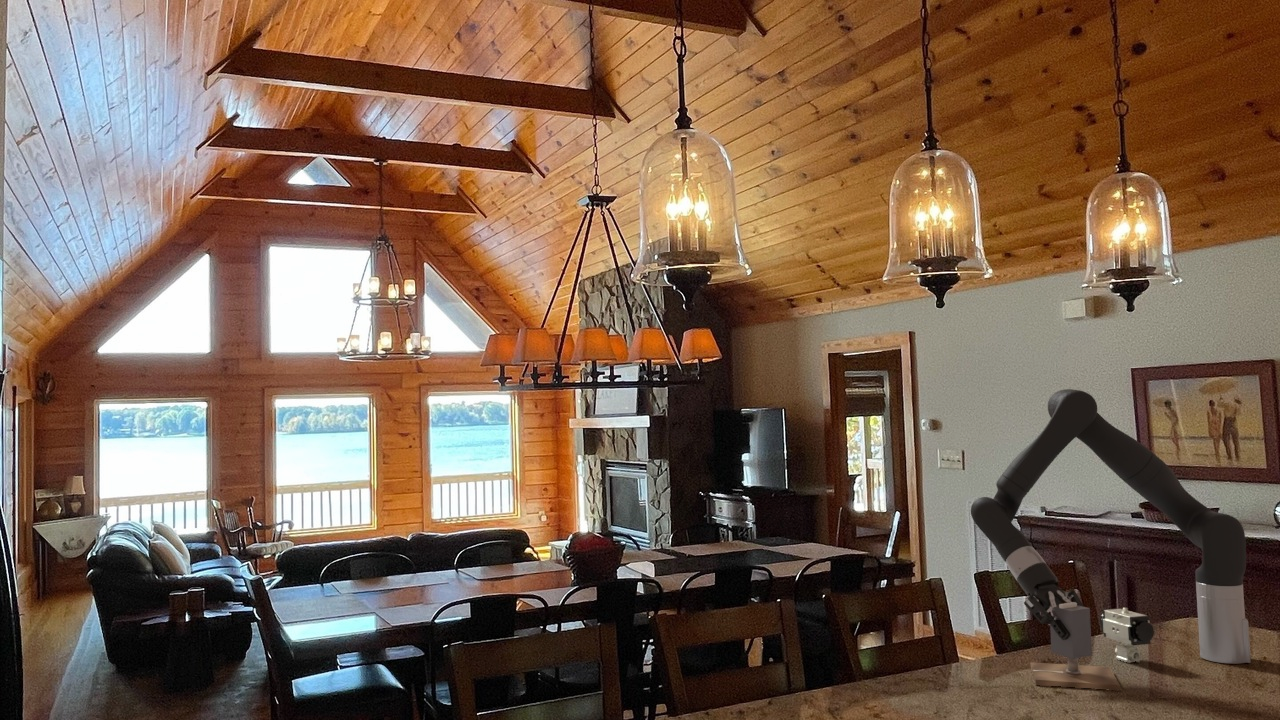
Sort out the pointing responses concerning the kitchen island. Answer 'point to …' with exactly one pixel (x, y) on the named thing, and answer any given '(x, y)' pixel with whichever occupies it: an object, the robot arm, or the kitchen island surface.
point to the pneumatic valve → (1126, 632)
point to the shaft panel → (1074, 675)
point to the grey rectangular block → (1072, 631)
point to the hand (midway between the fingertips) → (1077, 635)
